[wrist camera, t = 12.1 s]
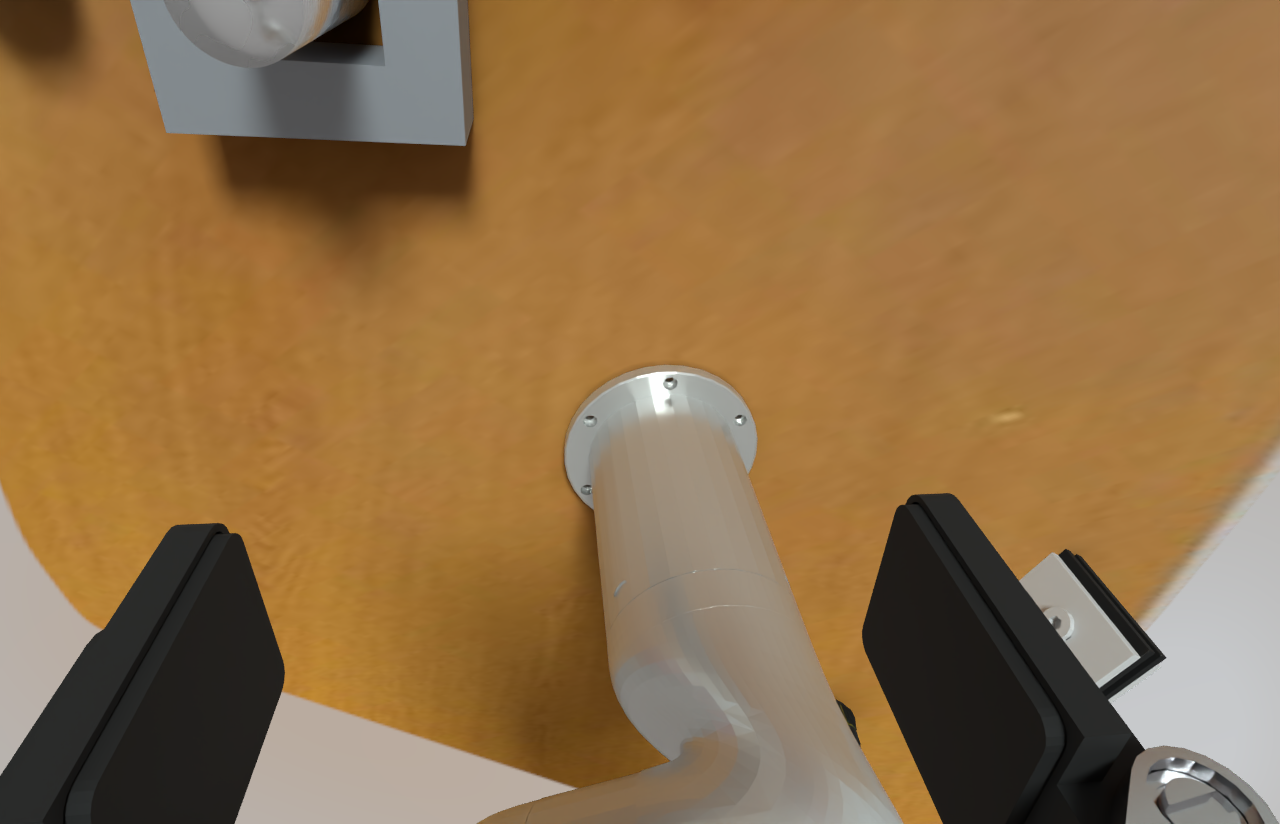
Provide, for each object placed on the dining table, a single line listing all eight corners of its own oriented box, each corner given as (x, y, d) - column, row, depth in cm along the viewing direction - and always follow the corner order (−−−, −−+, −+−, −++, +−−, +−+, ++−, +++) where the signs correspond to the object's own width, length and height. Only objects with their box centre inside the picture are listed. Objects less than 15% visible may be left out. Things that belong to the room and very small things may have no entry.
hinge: (994, 660, 67) (1057, 765, 59) (945, 653, 66) (1003, 760, 58) (1089, 553, 60) (1176, 655, 52) (1037, 542, 59) (1118, 646, 50)
